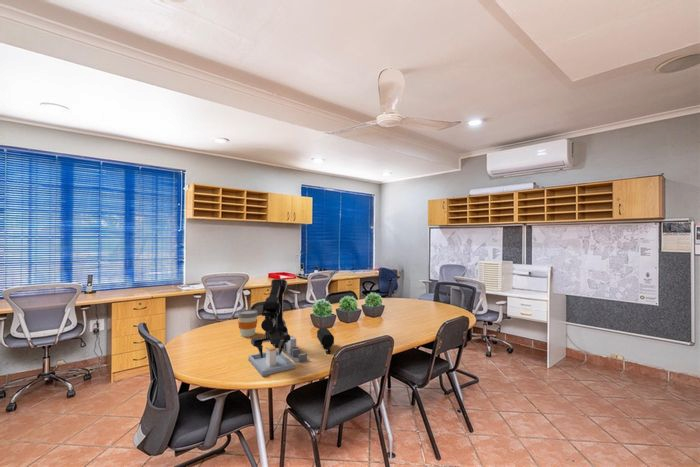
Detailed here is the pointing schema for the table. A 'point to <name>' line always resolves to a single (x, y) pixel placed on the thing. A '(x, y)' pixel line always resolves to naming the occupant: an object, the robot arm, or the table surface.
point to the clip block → (295, 354)
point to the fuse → (290, 344)
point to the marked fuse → (271, 355)
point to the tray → (265, 369)
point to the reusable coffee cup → (247, 322)
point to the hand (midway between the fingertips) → (270, 356)
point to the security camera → (325, 338)
